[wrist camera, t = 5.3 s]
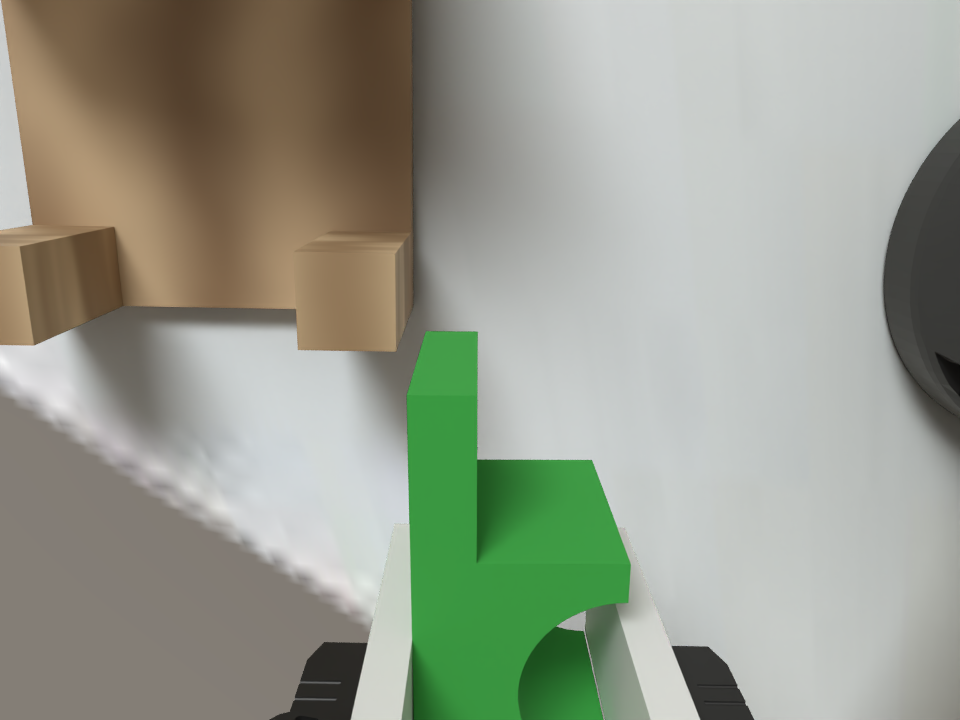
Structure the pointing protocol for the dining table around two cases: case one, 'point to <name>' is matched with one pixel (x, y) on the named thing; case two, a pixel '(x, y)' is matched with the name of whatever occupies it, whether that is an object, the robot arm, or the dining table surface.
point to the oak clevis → (213, 163)
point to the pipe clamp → (499, 559)
